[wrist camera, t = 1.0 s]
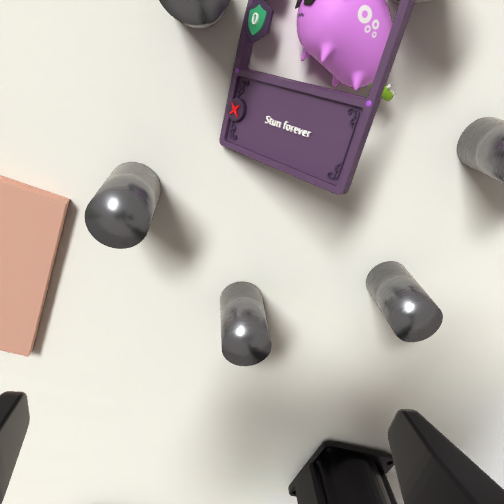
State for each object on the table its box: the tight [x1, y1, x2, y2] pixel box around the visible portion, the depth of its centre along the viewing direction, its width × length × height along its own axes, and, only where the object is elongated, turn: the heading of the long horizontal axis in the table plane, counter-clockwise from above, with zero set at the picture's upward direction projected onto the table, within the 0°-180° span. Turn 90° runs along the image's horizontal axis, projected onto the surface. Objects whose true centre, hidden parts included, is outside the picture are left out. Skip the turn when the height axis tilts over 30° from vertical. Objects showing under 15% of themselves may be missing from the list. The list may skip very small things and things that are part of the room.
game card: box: [220, 0, 415, 194], centre depth 15 cm, size 7×5×9 cm
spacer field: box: [85, 0, 504, 366], centre depth 17 cm, size 17×19×4 cm
